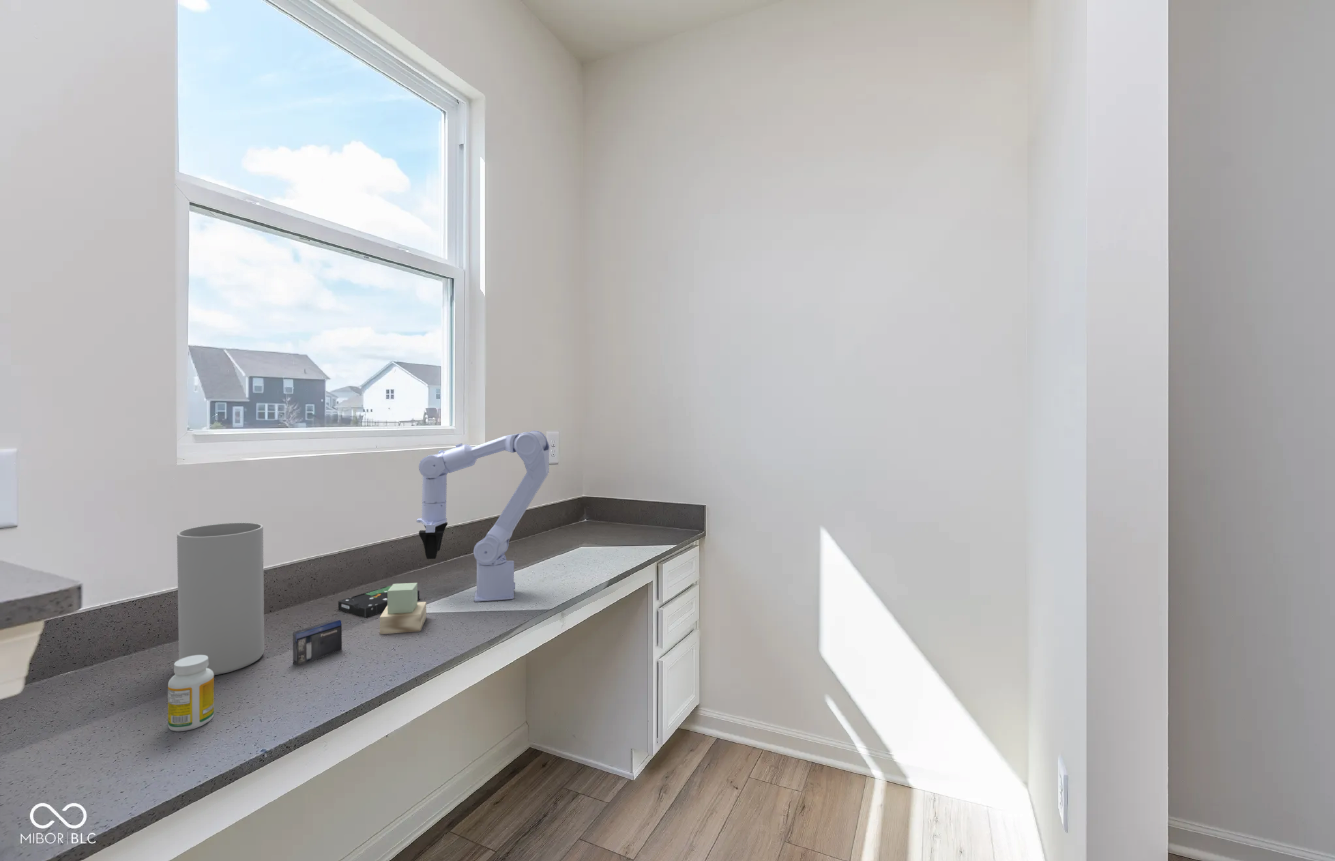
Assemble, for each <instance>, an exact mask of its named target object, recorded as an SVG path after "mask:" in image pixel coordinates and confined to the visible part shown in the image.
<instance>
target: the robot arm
mask: <svg viewBox="0 0 1335 861" xmlns="http://www.w3.org/2000/svg"><path fill="white" fill-rule="evenodd" d="M550 449H551V446H550V444H549V442H548V438H547V437H546V435H545V434H544V433H543V432H542V431H539V430H531V431H523V432H519V433H514V434H508V435H503V436H499V437H498V438H495V439H492V440H489V441H486V442H484V443H481V444H479V445H476V446H471V445H470V444H467V443H464V444H463V443H456V444H455V447H453V448H450V449H446V450H444V449H442V450H439V451H438V452H437V453H435V454H429V455H427V456H425V457H423V458H422V459H421V460H420V461H419V464H418V471H419V473H420V474H421V476H422V486H421V488H422V489H421V492H422V493H421V494H422V495H421V497H422V498H421V502H422V503H421V517H420V518H419V517H418V518H417V519H416V523H420V524H422V525H423V526H424V528H425V530H422V529H421V530H419V531H418V535H419V537H420V539H421V541H422V544H423V547H424V548H423V549H424V553H425V557H426V560H435V559H437V556H438V552H440V550H441V547H442V541H443V536H444V533H445V530H446V528H447V527H448V525H449V524H448V519H447V491H448V490H447V488H448V487H447V485H448V484H447V477H448V474H451V473H455V472H458V471H460V470H461V471H462V470H463V469H466V468H469V467H472V466H474V465H475V464H476V463H477V460H478V459H481V458H484V457H486V456H490V455H494V454H497V453H500V452H504V451H505V452H509V453H510V454H511V453H513V454H514V453H516V454H517V455H518V457H519V458H520V459H521V460H522V462H523V464H524V468H525V470H526V474H524V476H523V478H522V479H521V481H520V483H519V484H518V486H517V487H516V489H515V491H514V493H513V494H512V496H511V497H510V499H509V501H507V504H506V506H505V507H504V509H503V510H502V512H501V514H500V515H499V516H498V518H497V520H496V522H495V523H494V524H493V526H492V527H491V528H490V529H489V531H488V532H486V535H485V537H483V538H482V539H481V540H479V541H478V542H476V544H475V545H474V547H473V556H474V559H475V560H476V590H475V593H474V597H473V601H474V603H475V602H490V601H504V600H505V601H506V600H513V599H514V598H515V596H514V595H515V594H514V592H515V590H516V582H515V561H514V560H507V557H506V554H505V553H507V551H508V549H509V544H510V539H511V538H512V536H513V532H514V530H515V528H517V526H518V523H519V522H520V520H521V519H522V517H523V516H524V514H525V513H526V511H527V509H528V507H529V506H530V504H531V503H532V501H533V499H534V498H535V496H536V495H537V493H538V491H539V490H540V488H541V487H542V486H543V483H544V482H545V480H546V479H547V477H548V475H549V473H550Z"/></svg>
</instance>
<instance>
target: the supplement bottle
mask: <svg viewBox="0 0 1335 861" xmlns="http://www.w3.org/2000/svg"><path fill="white" fill-rule="evenodd" d="M208 665H209V663H208V656H206V655H194V656H189V657H185V658H182V659H180V660H179V659H177V660H176V661H175V662H174V664H173V673H174V675H173V676H172V677H170V678H169V680H168V683H167V726H168V729H169V730H171V731H172V732H187V731H190V730H194V729H197V728H200V727H201V726H204V725H206V724H207V723H209V722H210V721H212V720H213V718H214V715H215V694H214V693H215V675H214V673H213V671H212V670H211V669H209V668H207V667H208Z"/></svg>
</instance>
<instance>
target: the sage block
mask: <svg viewBox="0 0 1335 861" xmlns="http://www.w3.org/2000/svg"><path fill="white" fill-rule="evenodd" d="M390 586H391V587H390V589H389V590H388V614H395V613H413V611H414V609H415V608H416V606H417V602H418V600H417V592H418V591H419V590H418V586H419V585H418V582H407V583H406V582H404V583H402V582H401V583H392V585H390Z"/></svg>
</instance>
